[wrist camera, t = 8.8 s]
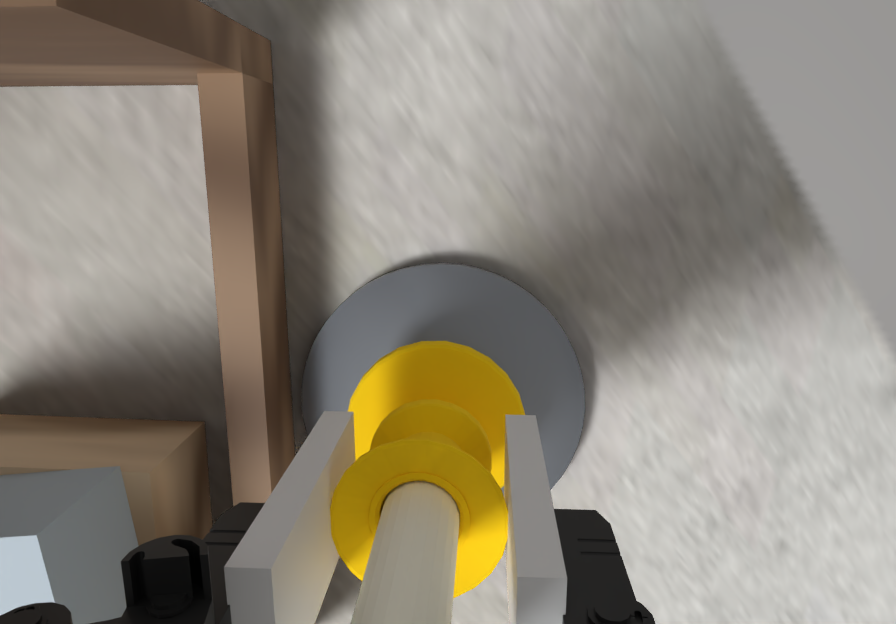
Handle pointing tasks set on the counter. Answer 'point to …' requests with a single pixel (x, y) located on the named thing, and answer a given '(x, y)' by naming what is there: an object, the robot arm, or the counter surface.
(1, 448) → the offcut lower
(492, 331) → the disc
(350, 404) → the candle
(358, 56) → the counter surface
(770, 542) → the counter surface
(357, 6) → the counter surface
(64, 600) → the offcut upper
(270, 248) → the frame
